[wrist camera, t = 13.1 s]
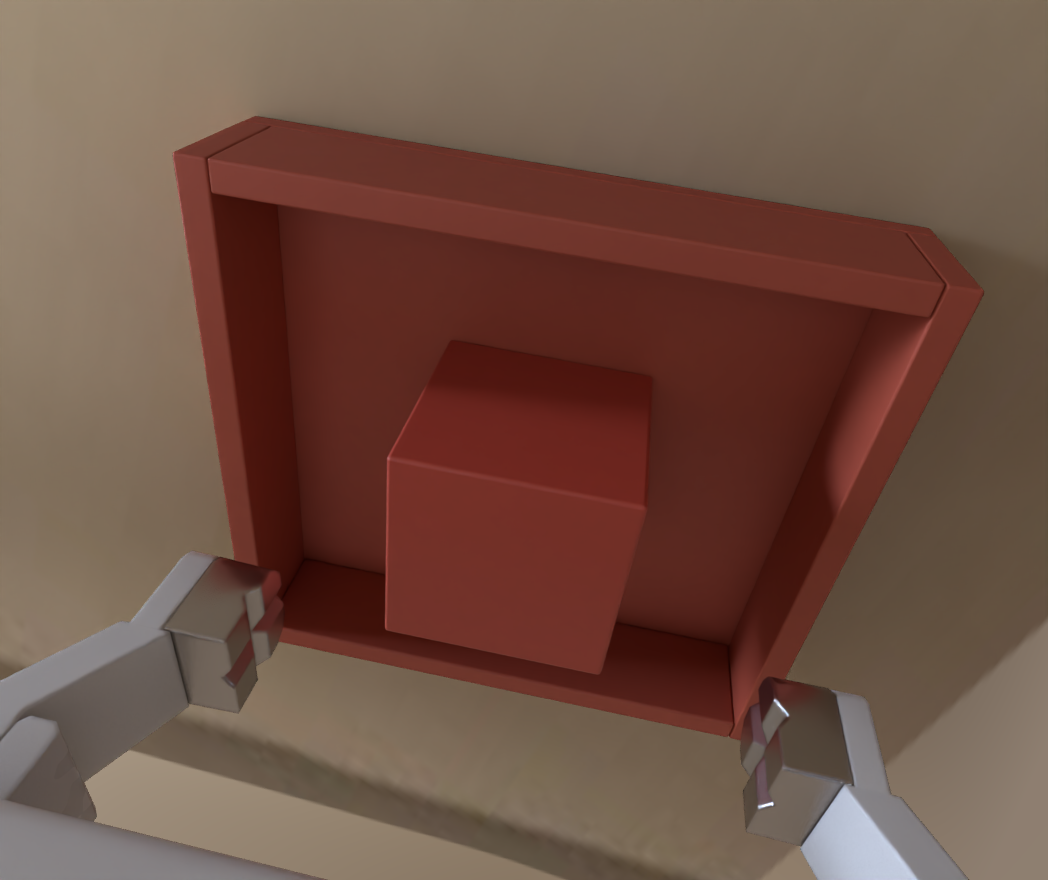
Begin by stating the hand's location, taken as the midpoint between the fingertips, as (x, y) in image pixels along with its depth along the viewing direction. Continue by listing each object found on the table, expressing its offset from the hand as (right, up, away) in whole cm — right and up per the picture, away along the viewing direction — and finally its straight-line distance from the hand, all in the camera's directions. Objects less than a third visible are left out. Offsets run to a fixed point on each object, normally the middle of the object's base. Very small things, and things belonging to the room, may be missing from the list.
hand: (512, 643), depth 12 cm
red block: (+1, +3, +5) cm, 6 cm away
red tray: (+1, +4, +5) cm, 7 cm away
